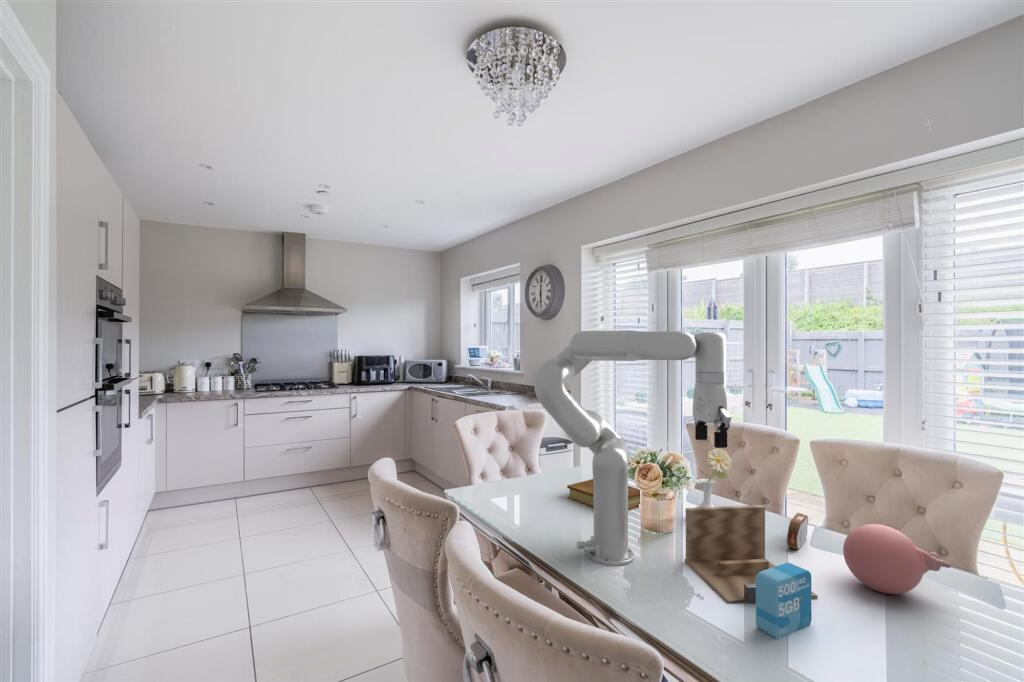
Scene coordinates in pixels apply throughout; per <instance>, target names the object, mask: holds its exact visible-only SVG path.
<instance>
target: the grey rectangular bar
mask: <svg viewBox="0 0 1024 682" xmlns="http://www.w3.org/2000/svg"><path fill="white" fill-rule="evenodd" d="M744 598H745V599H747V600H748V601H754V600H756V584H744Z"/></svg>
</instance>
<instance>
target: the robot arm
mask: <svg viewBox="0 0 1024 682" xmlns="http://www.w3.org/2000/svg"><path fill="white" fill-rule="evenodd" d="M693 358H695V359H694V361H695V366H694V367H695V372H694V373H695V378H694V379H695V383H694V390H693V398H692V399H693V400H692V417H693V419H694V425H695V430H694V431H695V432H694V433H695V435H694V437H695V438H694V439H695V440H697V441H707V440H708V425H707V424H713V427H714V429H715V431H713V433H714V435H713V436H714V439H713V440H714V441H713V443H714V444H713V446H714V448H715V449H716V448H718V449H726V448H727V447H728V433H729V431H730V430H729V429H730V426H731V420H732V416H731V415H730V414H729V413H728V412H729V411H728V409H729V406H728V393H727V388H726V385H727V337H726V334H725V333H724V332H717V331H716V332H715V331H711V332H710V331H708V332H707V331H705V332H699V333H691V332H687V331H684V330H683V331H682V330H675V331H674V330H673V331H672V330H670V331H668V330H667V331H664V330H663V331H659V330H658V331H638V330H628V329H627V330H623V329H622V330H620V329H619V330H582V331H578V332H576V333H574V334H573V335H572V336H571V338H570V341H569V343H568V345H567V346H566V347H565V348H564V349H563V350H562V351H561V352H559V354H558V355H556V356H555V357H552V358H547V359H545V360H544V361H543V362H542V363H541V364H540V365H539V367H538V369H537V370H536V373H535V377H534V382H533V383H534V393H535V395H536V397H537V399H538V402H539V403H540V404H541V406H542V407H543V408H544V409H545V410H546V412H547V413H548V414H549V415H550V416H551V418H552V419H553V420H554V421H555V422H556V423H557V425H558V426H559V427H560V428H561V429H562V430H563V431H564V432H565V434H566V435H567V436H568V438H570V440H571V441H572V442H573V443H574V444H575V445H577V446H578V447H581V448H588V449H589V450H590V451H591V452H592V454H593V455H592V456H593V457H592V463H591V464H592V465H591V466H592V479H593V499H594V508H593V535H592V536H591V535H590V539H588V540H587V541H576V549H577V550H583V552H585V553H587V555H588V557H589V558H590V559H591V561H594V562H595V561H596V563H598V564H600V563H602V564H601V565H604V564H607V565H606V566H609V565H613V566H612V567H618V566H620V567H621V566H626V565H629V564H631V563H632V562H633V561H634V559H635V552H634V551H633V550H632V549H631V548H629V511H628V486H629V461H630V450H629V447H628V444H627V443H626V442H625V441H624V439H623V438H622V437H621V436H620V435H619V434H618V433H617V432H616V430H614V429H613V428H612V426H611V425H610V424H609V423H608V422H607V421H606V420H605V419H604V418H603V417H602V416H601V415H600V414H598V413H597V412H596V411H594V410H590V409H585V408H584V407H583V406H582V405H581V404H580V403H579V402H578V400H577V398H575V397H574V396H573V395H572V394H571V393H569V392H568V390H567V389H566V386H565V385H566V384H569V382H571V381H573V379H574V378H575V377H576V376H578V374H579V373H581V372H582V370H584V369H585V368H586V367H588V365H589V364H591V362H594V361H595V362H596V361H600V362H601V361H605V362H606V361H608V362H609V361H611V362H612V361H614V362H615V361H616V362H617V361H618V362H619V361H620V362H623V361H624V362H635V361H685V360H688V359H693Z"/></svg>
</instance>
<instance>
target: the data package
mask: <svg viewBox="0 0 1024 682" xmlns="http://www.w3.org/2000/svg"><path fill="white" fill-rule="evenodd" d="M811 591H812V574H811V572H810V571H809V570H807V569H805V568H802V567H800V566H798V565H796V564H793V563H791V562H784V563H782V564H779V565H775V567H772V568H769V569H766V570H763V571H760V572H759V573H758V574H757V576H756V602H755V625H756V627H757V628H758V629H759V628H760V629H759V630H761V629H762V630H763V632H764V631H765V632H764V633H766V634H768V635H769V634H770V636H771V637H773V638H774V637H775V638H774V639H776V640H779V638H780V639H782V638H784V637H786V636H789V635H791V634H793V633H796V632H798V631H800V630H802V629H803V630H804V629H805V628H807V627H810V625H811V623H812V611H813V610H812V609H813V608H812V599H811ZM762 630H761V631H762Z"/></svg>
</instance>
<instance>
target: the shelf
mask: <svg viewBox="0 0 1024 682" xmlns="http://www.w3.org/2000/svg"><path fill="white" fill-rule="evenodd" d="M684 562H685V564H686V565H688V566H689V568H691V569H692V570H693V571H694V572H695V573H696V574H697V575H698V576H699V577H700V578H701V579H702V580H703V581H705V582H706V584H707V585H708V586H709V587H710V588H711V589H712V590H713V591H715V593H717V594H718V595H719V596H720V597H721V598H722V599H723V600H724V602H726V603H727V604H728V605H730V604H744V603H745V602H749V603H756V600H754V601H748V600H747V599H745V598H744V584H756V576H757V574H758V573H759V572H760V571H763V570H766V569H769V568H772V567H775V566H776V565H775V564H773V562H771V561H769V560H768V559H767V558H766V507H765V506H764V505H761V504H760V505H759V504H758V505H734V506H733V505H732V506H731V505H730V506H715V507H701V508H696V507H685V558H684ZM705 582H704V583H705ZM815 599H818V595H817V594H816V593H815V592H813V590H811V600H815Z"/></svg>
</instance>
